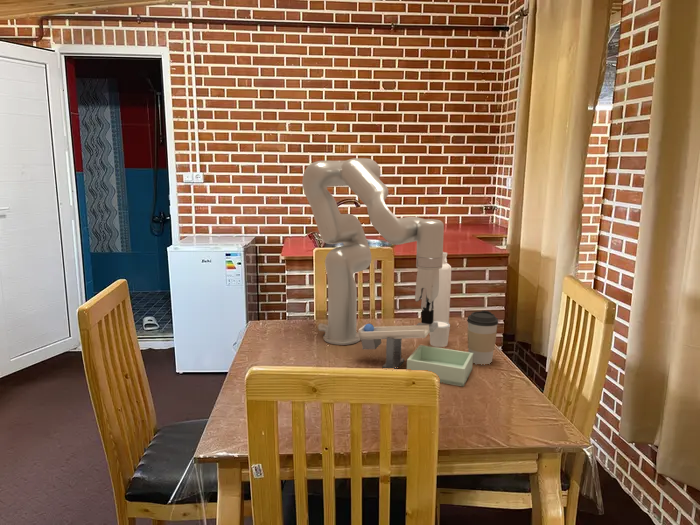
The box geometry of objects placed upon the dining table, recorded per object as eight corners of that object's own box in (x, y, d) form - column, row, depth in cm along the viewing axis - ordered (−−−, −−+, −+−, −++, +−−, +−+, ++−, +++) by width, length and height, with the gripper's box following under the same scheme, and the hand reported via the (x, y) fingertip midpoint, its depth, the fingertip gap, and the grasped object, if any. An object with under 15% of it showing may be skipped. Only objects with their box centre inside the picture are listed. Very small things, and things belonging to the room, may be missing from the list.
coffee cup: (490, 369, 151) (493, 319, 148) (460, 362, 156) (463, 314, 153) (499, 359, 159) (502, 312, 156) (470, 353, 164) (473, 307, 161)
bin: (406, 376, 146) (407, 359, 145) (419, 360, 157) (419, 344, 156) (463, 386, 139) (464, 369, 138) (472, 369, 151) (473, 352, 150)
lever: (361, 349, 154) (358, 330, 153) (374, 337, 164) (372, 319, 164) (429, 348, 145) (426, 327, 145) (439, 335, 156) (436, 316, 155)
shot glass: (449, 348, 167) (450, 327, 166) (427, 346, 169) (428, 326, 167) (449, 341, 174) (450, 321, 173) (428, 339, 175) (429, 320, 174)
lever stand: (382, 368, 151) (383, 337, 149) (391, 358, 158) (392, 329, 156) (395, 371, 149) (396, 339, 147) (404, 361, 157) (405, 331, 155)
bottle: (446, 334, 180) (450, 255, 175) (423, 331, 183) (426, 254, 178) (450, 327, 188) (454, 252, 182) (428, 325, 191) (431, 250, 185)
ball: (363, 335, 154) (361, 325, 154) (367, 332, 157) (365, 323, 157) (372, 334, 153) (370, 324, 153) (376, 331, 156) (374, 321, 155)
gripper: (423, 256, 158) (421, 314, 162) (409, 265, 145) (407, 328, 148) (447, 258, 155) (445, 317, 159) (435, 268, 142) (433, 332, 145)
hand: (427, 322), depth 154 cm, fingers closed
